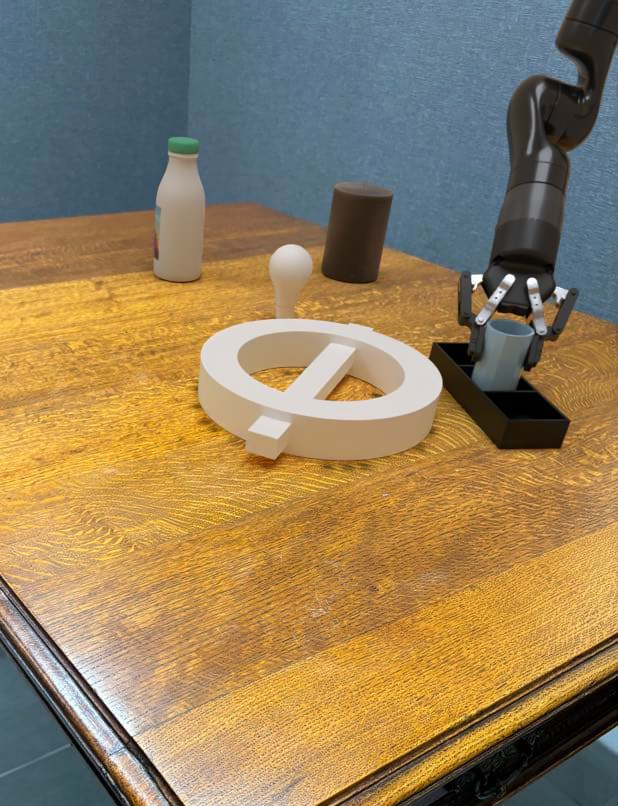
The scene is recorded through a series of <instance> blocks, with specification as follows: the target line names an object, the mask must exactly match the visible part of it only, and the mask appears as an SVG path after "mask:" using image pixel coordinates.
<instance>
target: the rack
mask: <svg viewBox="0 0 618 806" xmlns="http://www.w3.org/2000/svg"><path fill="white" fill-rule="evenodd" d="M468 346H469V342H466V341H465V342H462V341H461V342H459V341H458V342H456V341H454V342H453V341H445V342H444V341H432V343H431V348H430V353H429V356H428V359H429V360H430V361H431V362H432V363H433V364H434V365H435V366H436V368H437V369H438V371H439V372H440V374H441V377H442V383H443V384H442V387H444V388H445V389H446V390H447V392H448V393H449V394H450V395H451V396H452V397H453V399H454V400H455V401H456V402H457V403H458V405H460V406H461V408H462V409H463V410H464V411H465V412H466V413H467V415H468V416H469V417H470V418H471V419H472V420H473V421H474V422H475V424H476V425H477V426H478V427H479V428H480V429H481V431H483V432H484V433H485V435H486V436H487V437H488V438H489V439H490V440H491V442H492V443H493V444H494V445H495V446H496V447H497V449H498V450H501V449H502V450H518V449H519V450H520V449H521V450H522V449H527V450H528V449H529V450H530V449H561V448H562V445H563V443H564V441H565V437H566V435H567V433H568V430H569V428H570V424H571V422H572V420H571V419H570V418H569V417H567V415H566V414H564V412H562V411H561V409H559V408H558V407H557V406H555V404H554V403H552V401H550V400H549V399H548V398H547V397H546V396H545V395H544V394H542V392H541V391H540V390H538V389H537V387H535V386H534V385H533V384H532V383H531V382H529V380H528V379H526V378H525V377H524V375H522V374H521V377H520V380H519V383H518V386H517V389H516V391H482V390H481V389H480V388H479V387H478V386H477V385H476V384H475V383H474V382H473V381H472V380H471V376H472V372H473V369H474V365H475V362H472V361H471V359H472V357H471V356H468V353H467V351H468Z"/></svg>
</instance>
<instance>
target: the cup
mask: <svg viewBox="0 0 618 806" xmlns="http://www.w3.org/2000/svg"><path fill="white" fill-rule="evenodd" d="M485 327H486V330H485V336H484V340H483V345H482V350H481V355H480V358H479V360H478V362H475V365H474V369H473V372H472V376H471V380H472V381H473V382H474V383H475V384H476V385H477V386H478V387H479V388H480V389H481V390H482V391H516V389H517V386H518V383H519V380H520V377H521V375H522V372H523V368H524V364H525V361H526V358H527V355H528V352H529V349H530V346H531V343H532V340H533V337H534V334H535V332H534V329H532V328H531V327H530V326H528V325H526V323H525V322H524V323H523V322H521V321H518V320H515V319H507V318H493V319H490V320H489V321H488V322H487V324H486V326H485Z"/></svg>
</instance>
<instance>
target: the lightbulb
mask: <svg viewBox="0 0 618 806" xmlns="http://www.w3.org/2000/svg"><path fill="white" fill-rule="evenodd" d="M313 269H314V264H313V259H312V257H311V254H310V253H309V251H308V250H306V249H305V248H304V247H302V246H301V245H298V244H294V243H293V244H292V243H291V244H290V243H289V244H285V245H282V246H280V247H279V248H277V249H276V250H275V251H274V252H273V254H272V255H271V256H270V258H269V262H268V274H269V276H270V280H271V284H272V285H273V289H274V295H275V298H274V304H275V319H294V314H295V309H296V307H297V305H298V301H299V297H300V294H301V293H302V291H303V289H304V288H305V287H306V285H307V284H308V282H309V280H311V277H312V276H313V275H312V274H313Z"/></svg>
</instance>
